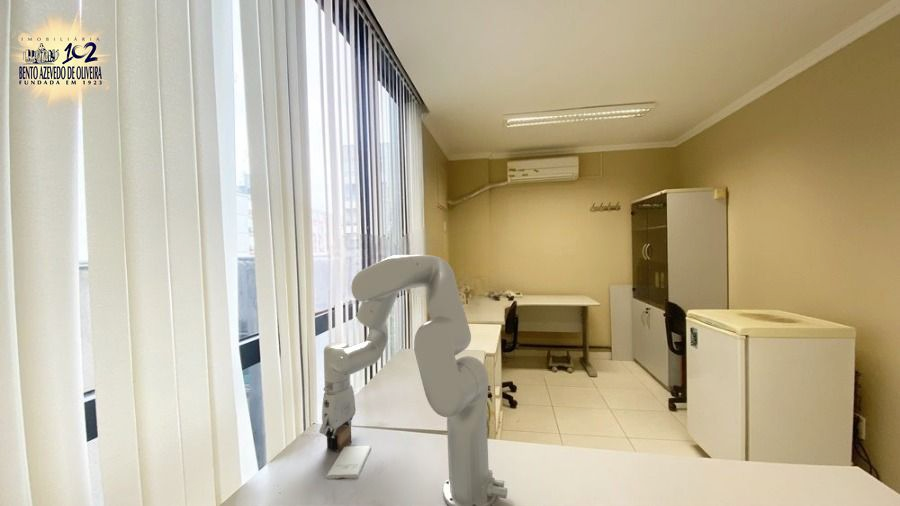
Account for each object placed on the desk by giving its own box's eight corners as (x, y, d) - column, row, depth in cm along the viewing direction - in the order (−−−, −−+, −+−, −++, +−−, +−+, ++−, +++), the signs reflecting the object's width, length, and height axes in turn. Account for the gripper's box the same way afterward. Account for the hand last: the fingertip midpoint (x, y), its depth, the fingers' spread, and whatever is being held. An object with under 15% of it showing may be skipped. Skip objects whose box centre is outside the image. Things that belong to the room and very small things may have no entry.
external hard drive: (371, 451, 94) (357, 480, 82) (343, 451, 95) (326, 480, 82) (370, 445, 94) (357, 473, 82) (343, 446, 95) (326, 474, 82)
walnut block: (351, 442, 98) (350, 426, 98) (340, 451, 94) (339, 434, 94) (338, 439, 100) (338, 423, 100) (327, 448, 96) (326, 431, 96)
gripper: (326, 397, 88) (328, 463, 88) (364, 375, 104) (366, 431, 104) (306, 394, 91) (308, 458, 91) (346, 373, 107) (348, 428, 106)
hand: (339, 443), depth 97 cm, fingers closed on walnut block, 5 cm apart
